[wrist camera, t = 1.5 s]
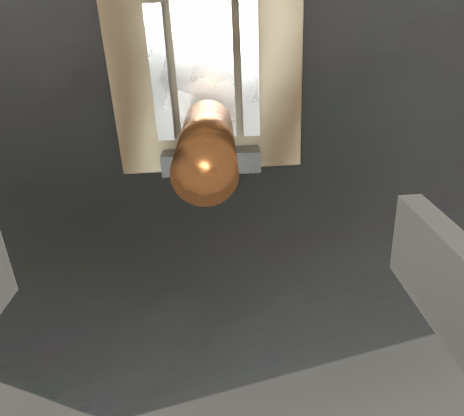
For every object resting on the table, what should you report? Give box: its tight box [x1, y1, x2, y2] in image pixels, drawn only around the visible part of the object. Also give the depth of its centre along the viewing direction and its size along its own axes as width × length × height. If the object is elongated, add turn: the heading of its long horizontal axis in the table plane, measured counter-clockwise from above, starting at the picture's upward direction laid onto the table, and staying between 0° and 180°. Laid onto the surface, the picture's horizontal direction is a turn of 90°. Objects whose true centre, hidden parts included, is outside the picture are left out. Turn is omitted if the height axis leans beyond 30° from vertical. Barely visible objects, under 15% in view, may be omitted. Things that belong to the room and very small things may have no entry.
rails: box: [142, 0, 261, 178], centre depth 31 cm, size 7×12×2 cm, turn 3°
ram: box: [169, 0, 239, 207], centre depth 25 cm, size 8×12×12 cm, turn 3°
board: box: [96, 0, 304, 174], centre depth 31 cm, size 14×15×1 cm
